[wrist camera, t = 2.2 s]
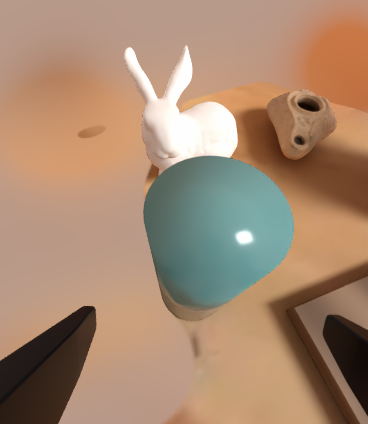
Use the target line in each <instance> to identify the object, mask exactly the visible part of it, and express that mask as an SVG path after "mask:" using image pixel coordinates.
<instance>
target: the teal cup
mask: <svg viewBox="0 0 368 424" xmlns="http://www.w3.org/2000/svg"><path fill="white" fill-rule="evenodd" d="M143 213H144V223H145V228H146V232H147V237H148V241H149V245H150V249H151V253H152V257H153V262H154V265H155V270H156V274H157V278H158V282H159V287H160V291H161V295H162V299H163V301H164V303H165V305H166V307H167V308H168V310H169V311H170V312H171V313H172V314H174V315H175V316H176V317H178V318H180V319H183V320H186V321H198V320H202V319H204V318H206V317H208V316H210V315H211V314H212V313H214V312H215V311H217V310H218V309H219V308H221V307H222V306H224V305H225V304H226V303H228V302H229V301H231V300H232V299H233V298H235V297H236V296H238V295H239V294H240V293H242V292H243V291H245V290H246V289H247V288H249V287H250V286H252V285H253V284H254V283H256V282H257V281H259V280H260V279H261V278H263V277H264V276H266V275H267V274H268V273H270V272H271V271H273V270H274V269H275V268H276V267H277V266H278V265H279V264H280V263H281V262H282V260H283V259H284V258H285V256H286V255H287V253H288V251H289V249H290V246H291V243H292V240H293V233H294V222H293V216H292V212H291V209H290V206H289V204H288V202H287V199H286V197H285V196H284V194H283V193H282V191H281V190H280V189H279V187H278V186H277V185H276V184H275V183H274V182H273V181H272V180H271V179H270V178H269V177H268V176H266V175H265V174H264V173H263V172H261V171H260V170H258V169H256V168H255V167H253V166H251V165H249V164H247V163H244V162H242V161H239V160H236V159H233V158H228V157H222V156H198V157H192V158H189V159H185V160H183V161H180V162H177V163H176V164H174V165H172V166H170V167H169V168H167V169H166V170H164V171H163V172H162V173H161V174H160V175H159V176H158V177H157V178H156V179H155V181H154V182H153V183H152V185H151V187H150V188H149V191H148V193H147V195H146V199H145V203H144V211H143Z"/></svg>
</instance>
